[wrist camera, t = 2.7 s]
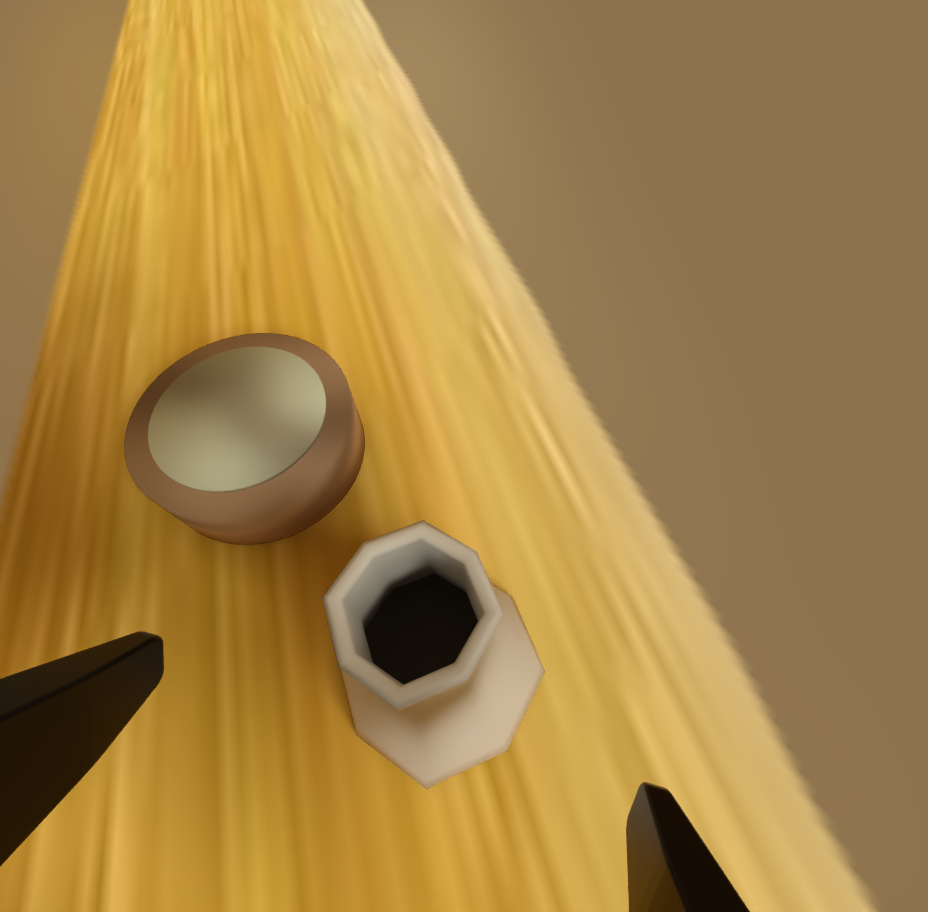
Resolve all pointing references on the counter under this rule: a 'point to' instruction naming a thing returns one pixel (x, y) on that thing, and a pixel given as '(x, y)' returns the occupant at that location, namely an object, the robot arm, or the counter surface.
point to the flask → (430, 653)
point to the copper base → (247, 438)
